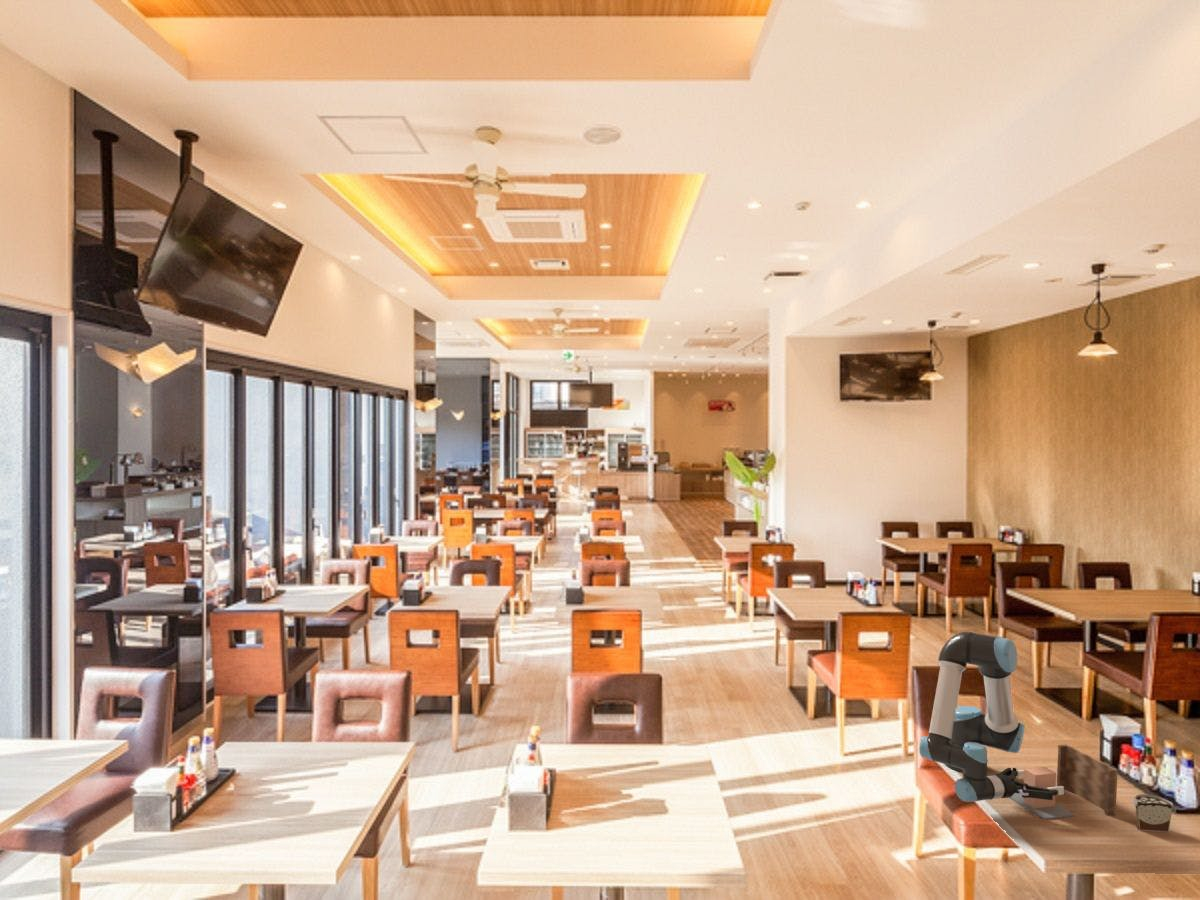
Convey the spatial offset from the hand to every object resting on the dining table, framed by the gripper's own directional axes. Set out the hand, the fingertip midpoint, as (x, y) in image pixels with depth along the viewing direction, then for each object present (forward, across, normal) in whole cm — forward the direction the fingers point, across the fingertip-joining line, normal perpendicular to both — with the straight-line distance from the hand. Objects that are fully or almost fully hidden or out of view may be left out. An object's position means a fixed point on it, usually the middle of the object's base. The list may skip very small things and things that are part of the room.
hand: (1047, 781), depth 277 cm
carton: (-3, 0, -8) cm, 9 cm away
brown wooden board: (+17, 0, -9) cm, 19 cm away
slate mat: (-3, 0, -8) cm, 9 cm away
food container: (+23, +20, -9) cm, 31 cm away
